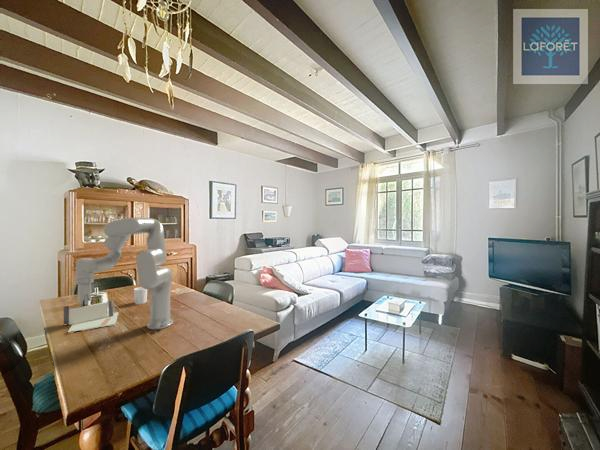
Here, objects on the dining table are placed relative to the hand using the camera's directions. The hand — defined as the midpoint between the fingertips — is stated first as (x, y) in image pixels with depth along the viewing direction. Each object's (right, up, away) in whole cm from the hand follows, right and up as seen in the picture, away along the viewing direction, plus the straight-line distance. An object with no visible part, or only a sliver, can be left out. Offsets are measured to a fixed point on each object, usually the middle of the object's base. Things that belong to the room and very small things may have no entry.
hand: (84, 312), depth 135 cm
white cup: (+11, -5, +31) cm, 33 cm away
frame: (+6, -5, -3) cm, 8 cm away
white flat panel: (+4, -3, -1) cm, 5 cm away
